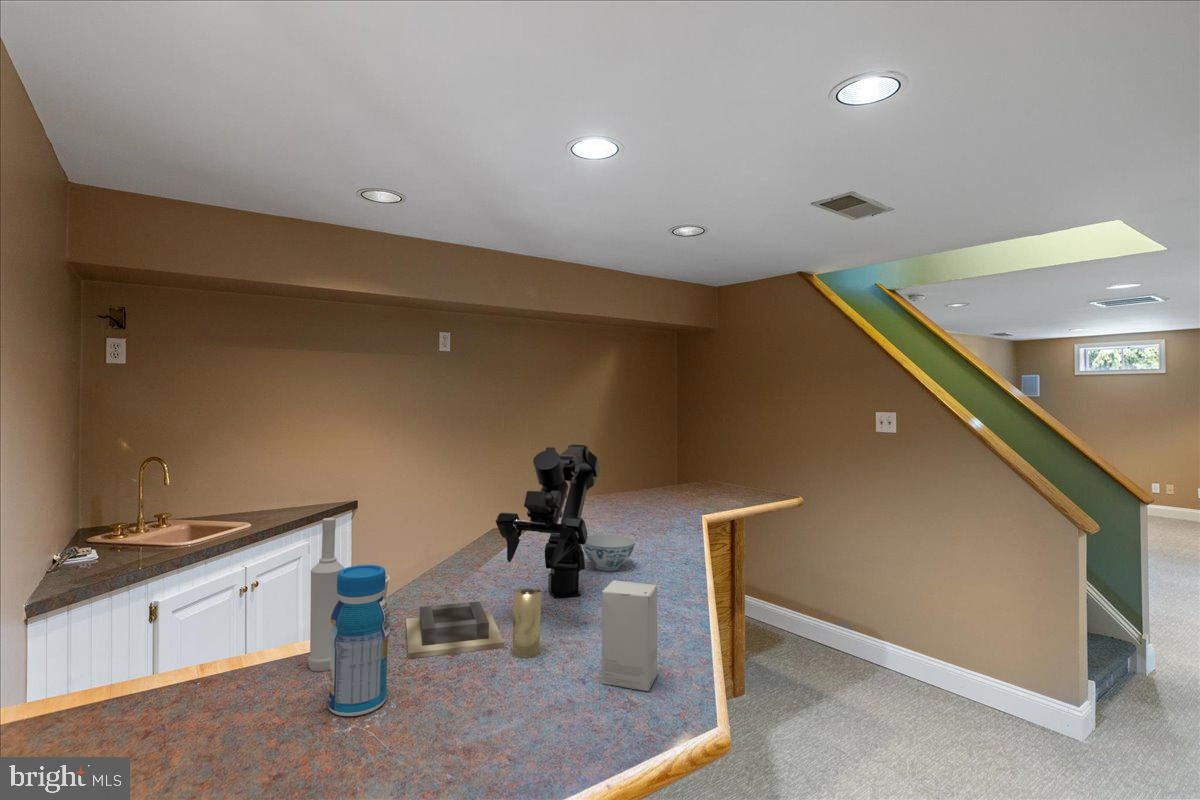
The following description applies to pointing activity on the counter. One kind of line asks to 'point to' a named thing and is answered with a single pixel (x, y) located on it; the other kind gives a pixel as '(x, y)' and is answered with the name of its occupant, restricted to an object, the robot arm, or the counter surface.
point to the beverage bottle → (359, 642)
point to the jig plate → (450, 646)
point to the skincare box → (629, 635)
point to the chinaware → (608, 550)
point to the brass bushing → (526, 622)
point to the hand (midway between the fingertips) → (530, 563)
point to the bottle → (323, 599)
